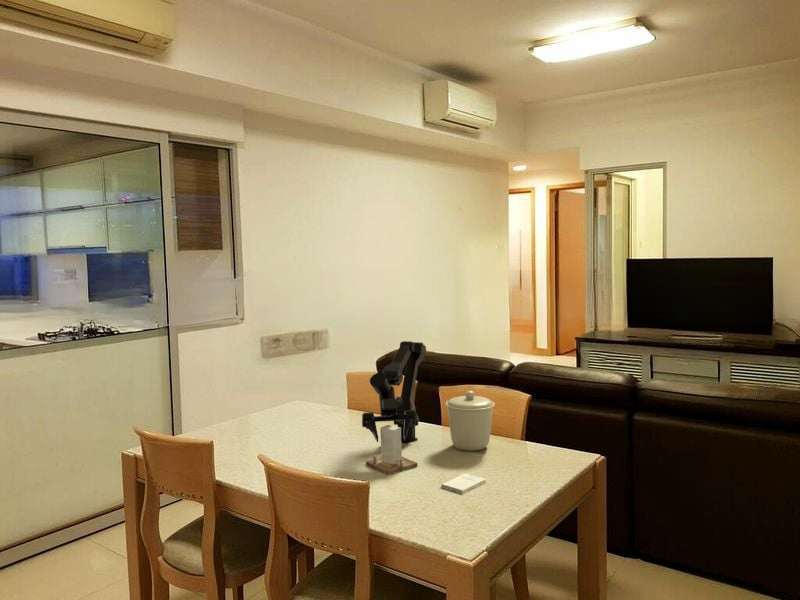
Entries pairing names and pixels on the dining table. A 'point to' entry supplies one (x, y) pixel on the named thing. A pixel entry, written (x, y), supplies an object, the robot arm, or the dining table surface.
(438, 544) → the dining table surface
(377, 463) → the pin nest board
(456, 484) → the external hard drive
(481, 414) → the canister
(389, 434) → the skincare box
